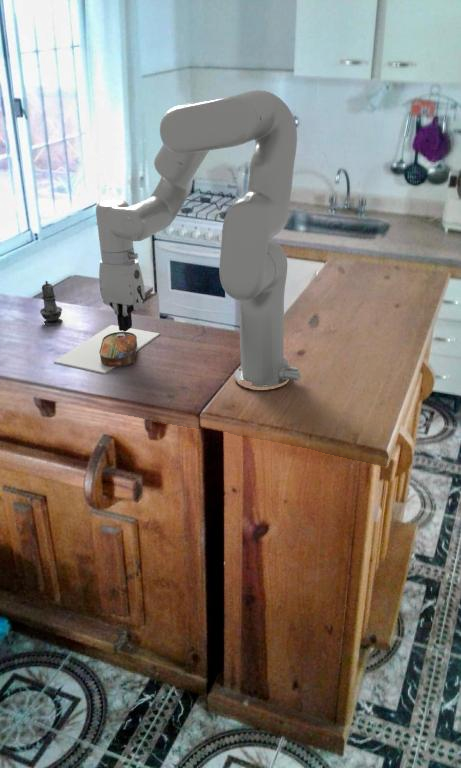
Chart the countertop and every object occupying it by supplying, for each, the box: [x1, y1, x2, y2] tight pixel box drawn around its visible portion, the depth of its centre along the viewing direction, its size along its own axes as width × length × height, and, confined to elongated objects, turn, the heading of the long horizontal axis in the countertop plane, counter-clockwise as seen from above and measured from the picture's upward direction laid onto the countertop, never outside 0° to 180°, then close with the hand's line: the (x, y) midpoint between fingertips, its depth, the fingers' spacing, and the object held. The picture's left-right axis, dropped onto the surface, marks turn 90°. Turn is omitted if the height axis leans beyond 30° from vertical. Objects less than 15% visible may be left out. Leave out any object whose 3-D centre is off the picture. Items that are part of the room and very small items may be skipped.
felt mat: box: [53, 324, 160, 374], centre depth 177 cm, size 15×24×1 cm, turn 154°
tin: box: [99, 332, 137, 367], centre depth 172 cm, size 15×3×8 cm
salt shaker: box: [39, 280, 64, 327], centre depth 190 cm, size 6×6×12 cm
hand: (125, 328), depth 171 cm, fingers closed
